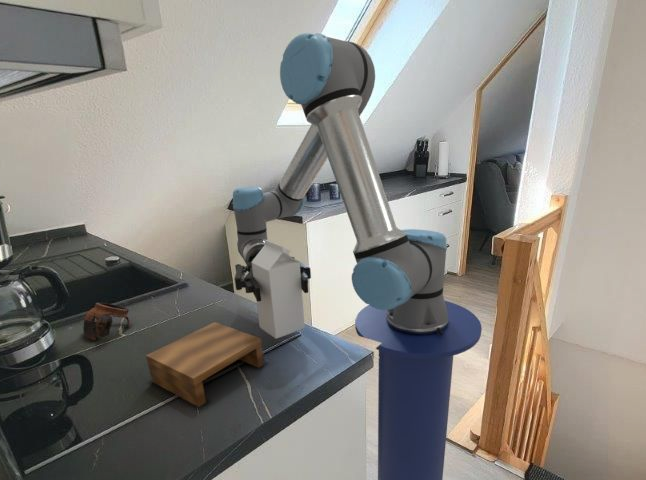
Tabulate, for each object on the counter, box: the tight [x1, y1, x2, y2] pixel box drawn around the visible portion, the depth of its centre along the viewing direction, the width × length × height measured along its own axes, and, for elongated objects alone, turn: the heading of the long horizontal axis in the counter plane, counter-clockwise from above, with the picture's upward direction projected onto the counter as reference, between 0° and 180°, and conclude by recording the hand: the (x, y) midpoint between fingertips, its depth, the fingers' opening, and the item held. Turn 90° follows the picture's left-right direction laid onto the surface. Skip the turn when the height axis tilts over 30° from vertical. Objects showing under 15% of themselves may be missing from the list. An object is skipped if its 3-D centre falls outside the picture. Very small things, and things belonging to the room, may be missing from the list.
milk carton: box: [252, 239, 305, 340], centre depth 83 cm, size 7×7×19 cm
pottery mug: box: [82, 302, 131, 341], centre depth 96 cm, size 12×10×8 cm
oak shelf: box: [145, 321, 265, 408], centre depth 79 cm, size 14×16×6 cm
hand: (282, 290), depth 79 cm, fingers closed on milk carton, 9 cm apart
